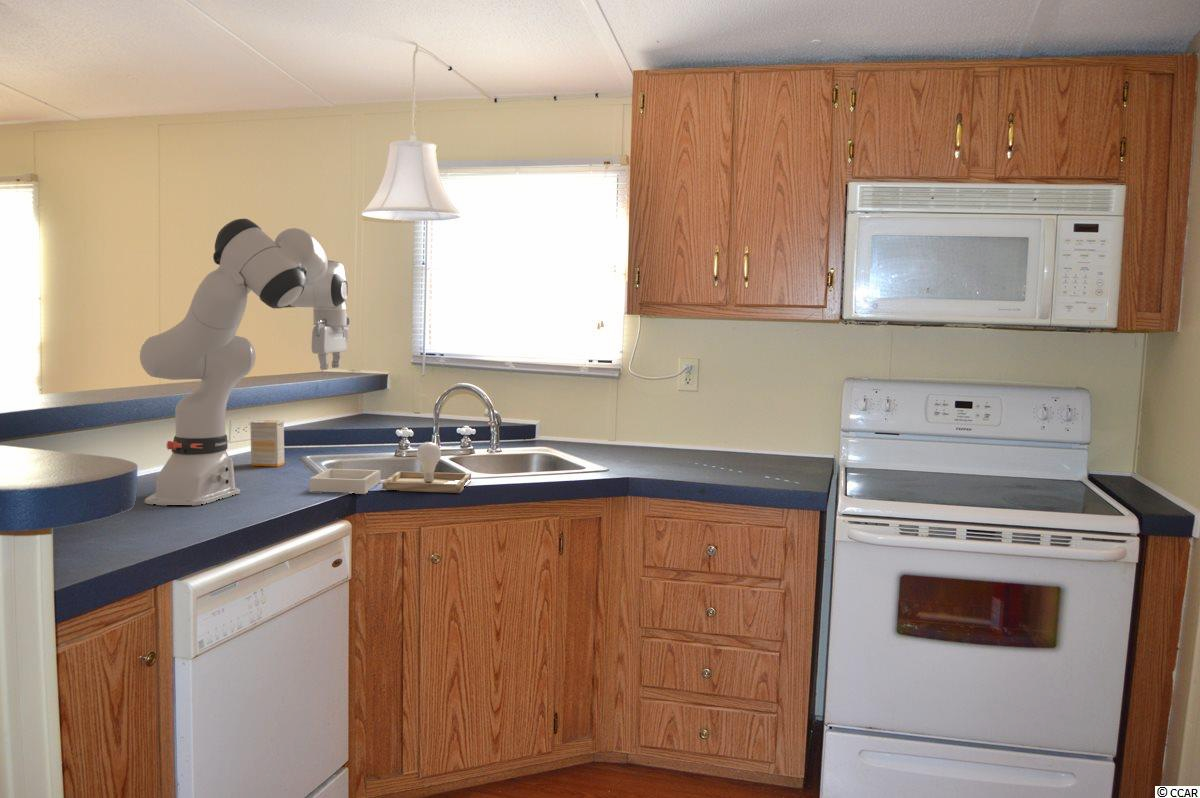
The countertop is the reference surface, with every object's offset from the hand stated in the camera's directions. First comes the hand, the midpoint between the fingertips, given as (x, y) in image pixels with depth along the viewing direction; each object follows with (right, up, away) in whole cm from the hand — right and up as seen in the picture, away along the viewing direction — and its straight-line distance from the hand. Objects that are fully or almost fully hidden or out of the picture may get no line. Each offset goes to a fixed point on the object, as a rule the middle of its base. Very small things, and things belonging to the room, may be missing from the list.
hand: (330, 368), depth 245 cm
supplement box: (-21, -28, +8) cm, 36 cm away
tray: (+31, -32, -15) cm, 46 cm away
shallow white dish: (+11, -32, -20) cm, 39 cm away
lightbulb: (+31, -31, -14) cm, 46 cm away
